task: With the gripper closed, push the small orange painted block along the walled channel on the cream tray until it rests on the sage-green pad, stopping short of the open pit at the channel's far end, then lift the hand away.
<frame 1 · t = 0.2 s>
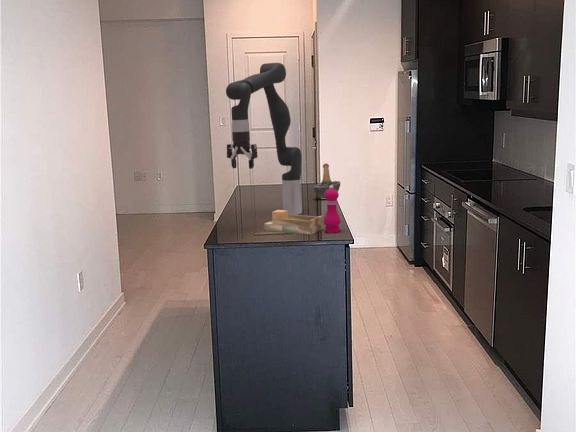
hand: (242, 168, 264), 28 cm above the countertop, tool pointing down, fingers open, 8 cm apart
pepper mill: (332, 231, 264), on the countertop
cream tray: (293, 229, 270), on the countertop
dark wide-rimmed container: (327, 199, 348), on the countertop
block: (280, 222, 273), point 3 cm above the countertop, touching cream tray
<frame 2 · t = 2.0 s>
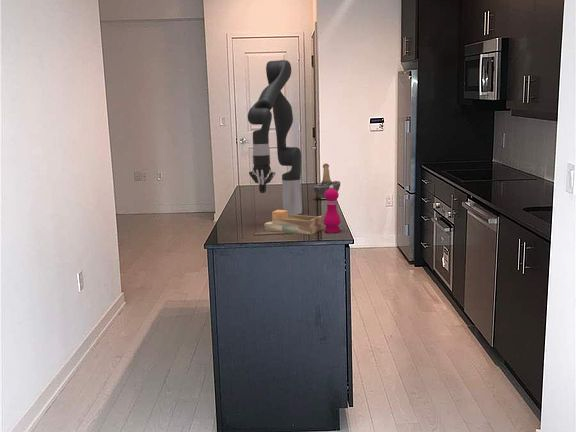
hand: (262, 192, 274), 16 cm above the countertop, tool pointing down, fingers closed
nothing on the countertop moved.
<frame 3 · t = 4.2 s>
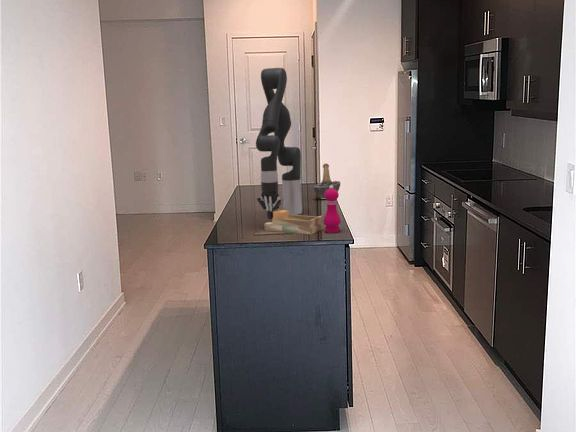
hand: (270, 218, 275), 4 cm above the countertop, tool pointing down, fingers closed
block: (281, 222, 272), point 3 cm above the countertop, touching cream tray, gripper
everything else where it was.
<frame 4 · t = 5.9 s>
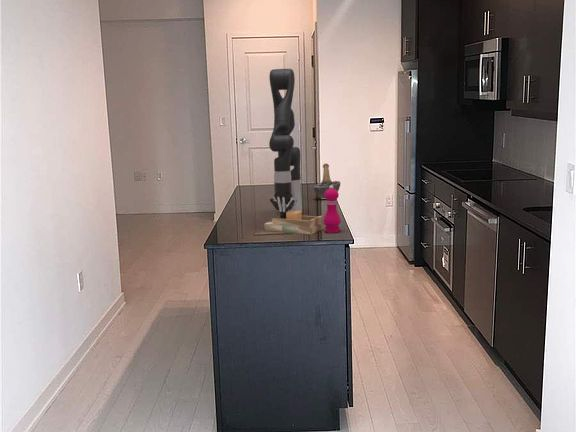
hand: (283, 219, 271), 4 cm above the countertop, tool pointing down, fingers closed
block: (294, 223, 269), point 3 cm above the countertop, touching cream tray, gripper
everything else where it was.
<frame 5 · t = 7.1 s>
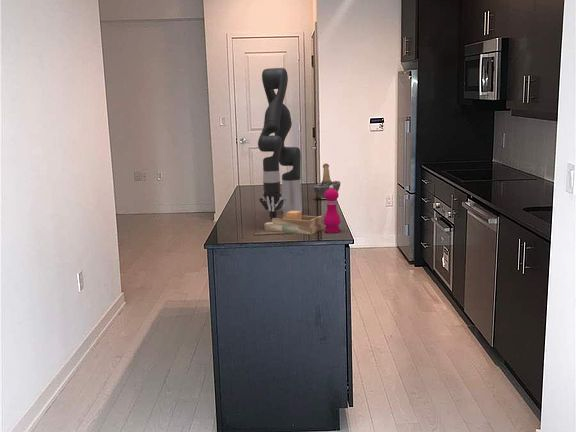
hand: (273, 219, 274), 4 cm above the countertop, tool pointing down, fingers closed
block: (294, 223, 269), point 3 cm above the countertop, touching cream tray
everything else where it was.
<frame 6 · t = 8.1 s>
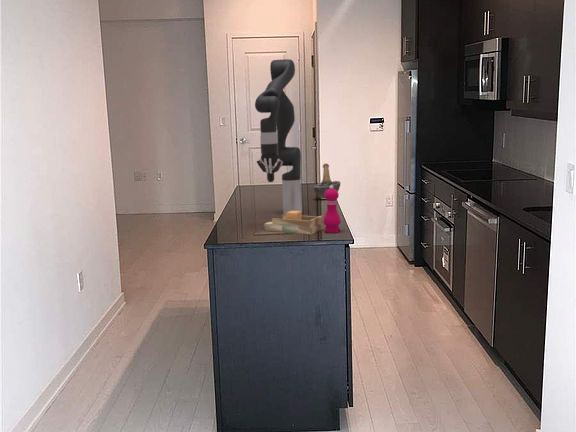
hand: (270, 181, 272), 21 cm above the countertop, tool pointing down, fingers closed
nothing on the countertop moved.
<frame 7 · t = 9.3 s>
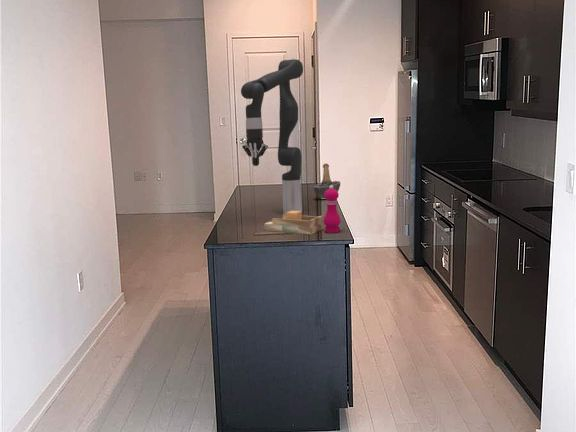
hand: (255, 165, 282), 27 cm above the countertop, tool pointing down, fingers closed
nothing on the countertop moved.
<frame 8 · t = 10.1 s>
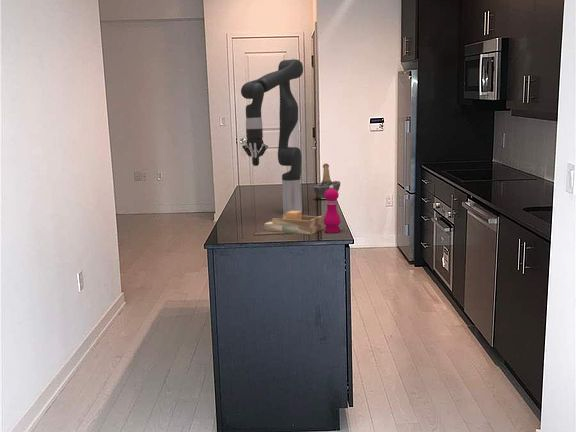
hand: (255, 165, 282), 27 cm above the countertop, tool pointing down, fingers closed
nothing on the countertop moved.
at the end: block inside the target area (0.1 cm from its centre), point 3.0 cm above the countertop; block touching cream tray; block tilted 0° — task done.
